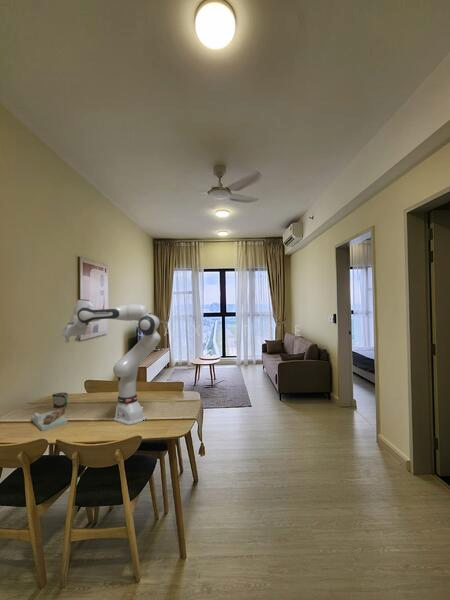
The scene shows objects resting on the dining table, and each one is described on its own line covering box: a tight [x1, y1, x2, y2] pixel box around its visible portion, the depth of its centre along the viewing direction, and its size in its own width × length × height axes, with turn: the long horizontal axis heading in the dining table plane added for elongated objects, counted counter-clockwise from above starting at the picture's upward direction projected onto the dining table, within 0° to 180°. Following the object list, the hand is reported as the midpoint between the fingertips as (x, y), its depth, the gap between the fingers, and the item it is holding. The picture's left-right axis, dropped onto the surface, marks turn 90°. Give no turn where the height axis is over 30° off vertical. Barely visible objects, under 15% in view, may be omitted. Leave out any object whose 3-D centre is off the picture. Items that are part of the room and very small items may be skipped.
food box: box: [31, 409, 69, 432], centre depth 184 cm, size 24×14×6 cm, turn 46°
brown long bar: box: [44, 408, 66, 424], centre depth 183 cm, size 18×4×4 cm, turn 1°
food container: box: [51, 392, 69, 410], centre depth 210 cm, size 12×6×10 cm, turn 74°
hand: (71, 341), depth 194 cm, fingers open, 8 cm apart
